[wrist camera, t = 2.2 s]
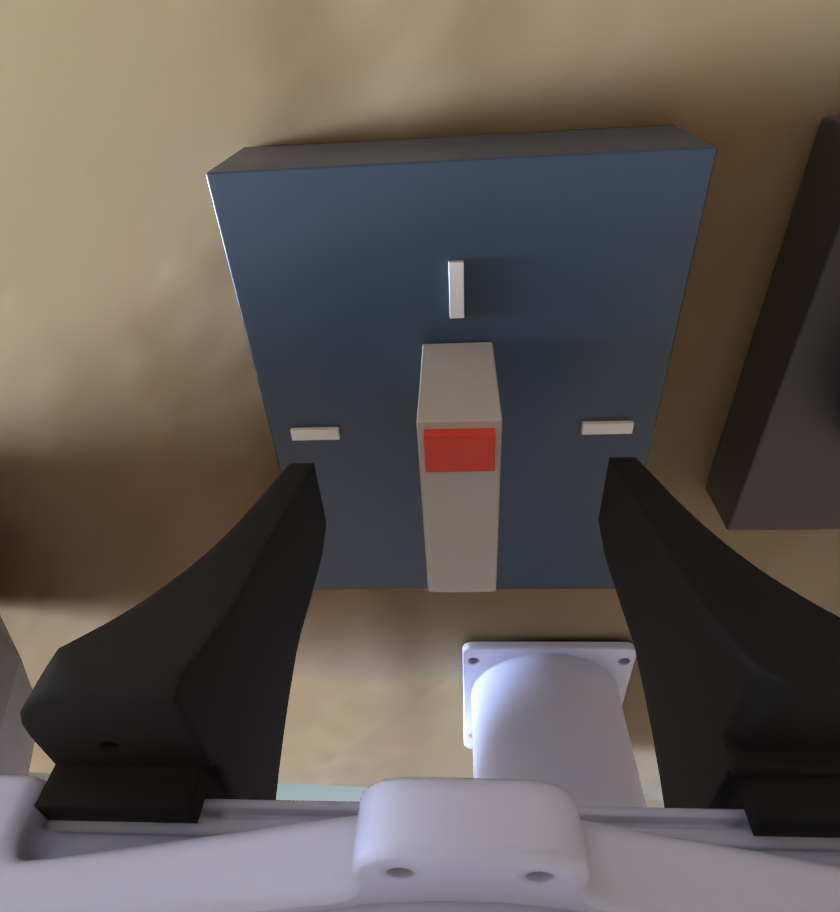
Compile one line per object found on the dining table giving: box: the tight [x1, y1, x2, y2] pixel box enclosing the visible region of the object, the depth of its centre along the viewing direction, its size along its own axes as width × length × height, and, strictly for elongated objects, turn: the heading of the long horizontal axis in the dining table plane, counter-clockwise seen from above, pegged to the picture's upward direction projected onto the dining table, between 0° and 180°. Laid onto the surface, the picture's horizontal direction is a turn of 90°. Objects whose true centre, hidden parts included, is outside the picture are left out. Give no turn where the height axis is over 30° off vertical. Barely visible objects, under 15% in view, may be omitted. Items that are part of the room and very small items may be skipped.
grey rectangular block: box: [416, 342, 502, 592], centre depth 15 cm, size 6×2×4 cm, turn 3°
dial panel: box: [206, 125, 717, 590], centre depth 18 cm, size 14×11×3 cm
